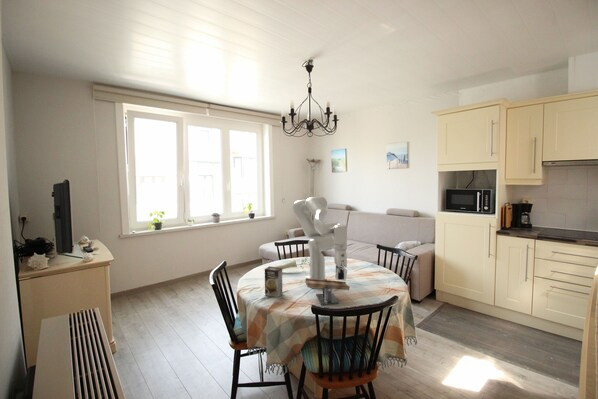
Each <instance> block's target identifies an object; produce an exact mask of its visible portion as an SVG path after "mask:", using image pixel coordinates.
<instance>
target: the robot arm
mask: <svg viewBox="0 0 598 399" xmlns="http://www.w3.org/2000/svg"><path fill="white" fill-rule="evenodd" d="M326 208H328V201H327V199H326V198H325V197H323V196H311V197H308V198H307V199H300V200H299V199H298V200H296V201H294V203H293V205H292V212H293V214H294V217H295V219H297V221H298V223H299V224H300V226H301V228H302V231H303V233H304V235H305V237H307V238H308V242H307V246H308V252H309V262H310V263H309V264H310V266H309V276H306V275H305V277H304V278H305V280H306V279H318V280H323V279H325V277H326V275H325V274H326V271H325V270H326V269H325V267H326V266H325V265H326V263H325V262H326V260H325V259H326V258H325V256H324V255H323V253H322V252H326V251H331V250H334V254H333V260H334V264H335V269H336V268H337V267H339V272H338V279H344V270H345V269H346V268H348V262H347V261H348V257H347V256H348V255H347V249H348V248H347V247H348V246H347V245H348V227H347V225H345V224H341V223H340V222H337V221H335V222H333V221H332V222H323V221H322V220H323V219H324V218H325V217H326V216H327V213H328V212H327V209H326ZM309 212H310V213H311V215H312V216H313V219H312V217H311V216H310V215H309V214H308V213H309ZM340 268H342V269H341V270H340ZM310 288H312V289H316V290H317V289H321V288H314V287H310Z"/></svg>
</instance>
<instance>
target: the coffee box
mask: <svg viewBox="0 0 598 399" xmlns="http://www.w3.org/2000/svg"><path fill="white" fill-rule="evenodd" d="M281 294H283V270H282V268H278V267H272V266H268V267H266V268H264V296H266V295H267V297H273V296H274V298H279V297H280V296H282V295H281Z"/></svg>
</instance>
